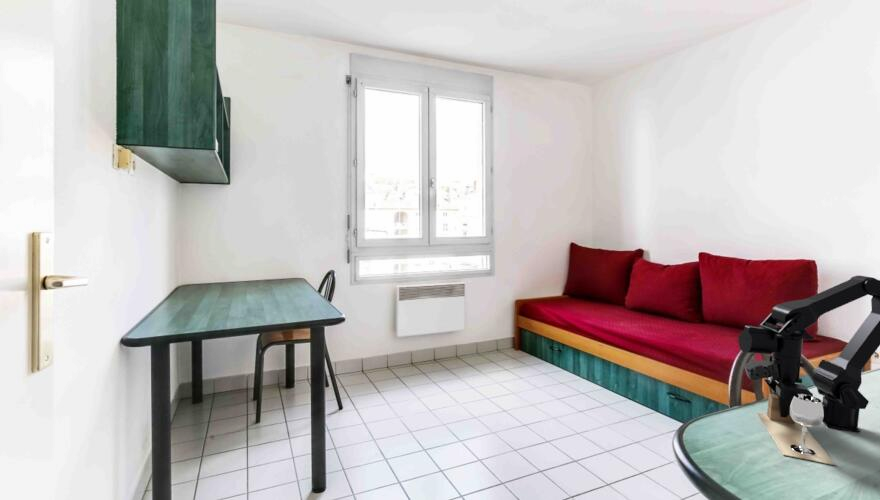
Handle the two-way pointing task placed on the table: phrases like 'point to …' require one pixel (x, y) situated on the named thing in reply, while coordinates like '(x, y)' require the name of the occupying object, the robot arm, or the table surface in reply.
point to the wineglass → (806, 418)
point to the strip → (790, 433)
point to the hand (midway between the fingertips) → (781, 414)
